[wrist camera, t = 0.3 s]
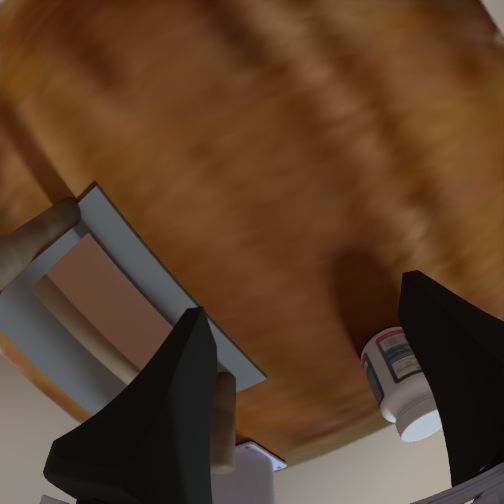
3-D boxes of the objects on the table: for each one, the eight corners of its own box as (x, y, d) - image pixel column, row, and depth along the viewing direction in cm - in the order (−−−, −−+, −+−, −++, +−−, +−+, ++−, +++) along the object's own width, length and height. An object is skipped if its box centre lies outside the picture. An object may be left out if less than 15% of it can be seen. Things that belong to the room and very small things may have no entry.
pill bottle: (388, 375, 26) (420, 449, 18) (348, 361, 25) (376, 446, 17) (424, 334, 25) (469, 406, 17) (386, 316, 23) (432, 398, 15)
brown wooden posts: (222, 387, 26) (217, 476, 18) (55, 208, 19) (-26, 266, 11) (241, 379, 26) (240, 470, 18) (71, 191, 19) (-14, 245, 10)
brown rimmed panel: (215, 367, 24) (209, 435, 18) (203, 373, 24) (195, 439, 18) (88, 232, 19) (37, 281, 13) (78, 242, 19) (27, 292, 13)
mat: (120, 432, 30) (119, 434, 30) (-12, 311, 23) (-14, 313, 23) (267, 376, 26) (267, 379, 25) (97, 184, 19) (96, 185, 18)
